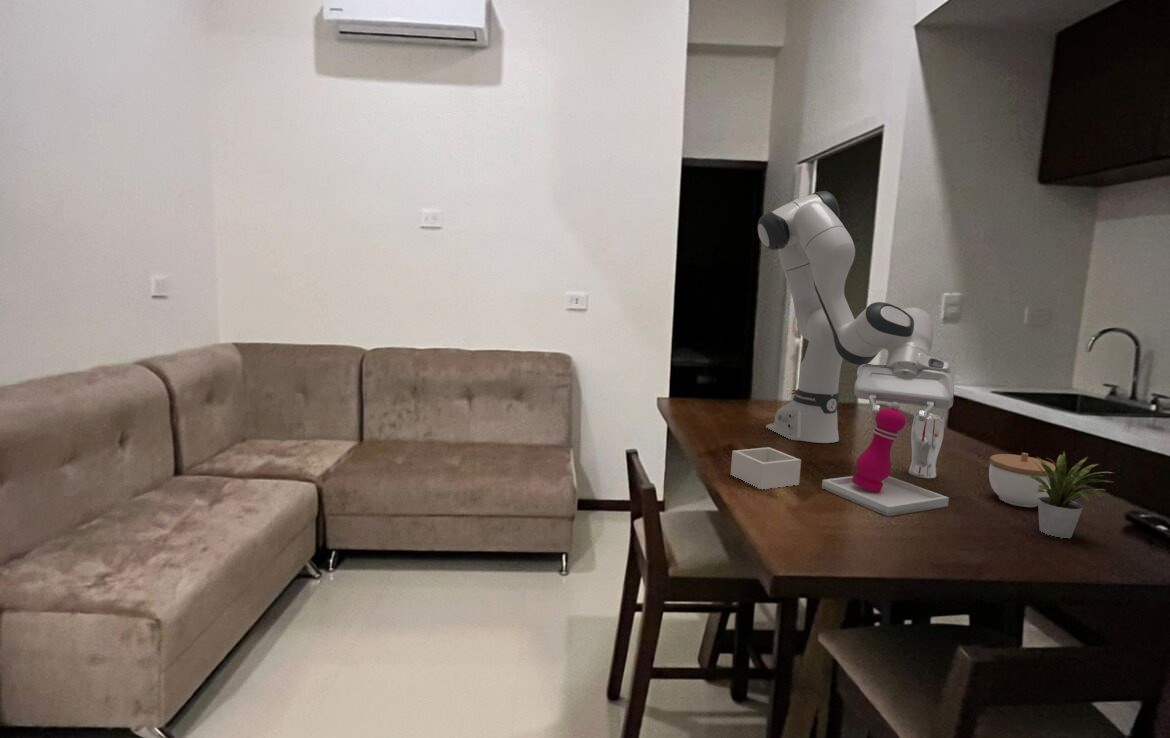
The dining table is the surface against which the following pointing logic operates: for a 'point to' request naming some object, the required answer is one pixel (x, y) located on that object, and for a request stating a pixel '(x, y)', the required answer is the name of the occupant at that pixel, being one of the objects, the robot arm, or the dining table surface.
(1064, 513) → the house plant
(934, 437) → the beer glass
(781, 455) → the open rectangular box
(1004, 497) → the lidded bowl
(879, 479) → the pepper mill
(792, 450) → the dining table surface
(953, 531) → the dining table surface
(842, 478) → the tray
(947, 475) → the dining table surface
